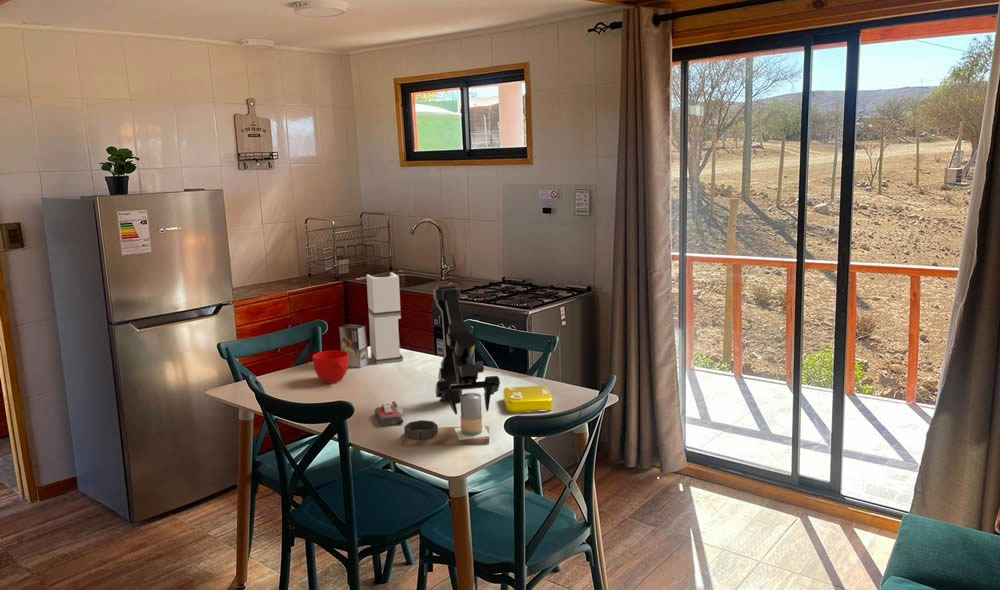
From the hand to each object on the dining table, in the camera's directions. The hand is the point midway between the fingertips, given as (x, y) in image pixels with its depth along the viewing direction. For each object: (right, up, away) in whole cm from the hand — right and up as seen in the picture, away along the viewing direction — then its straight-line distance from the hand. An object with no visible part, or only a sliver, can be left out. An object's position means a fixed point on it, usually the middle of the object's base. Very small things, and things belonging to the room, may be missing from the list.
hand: (472, 412), depth 214 cm
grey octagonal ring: (-15, -7, +2) cm, 17 cm away
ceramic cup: (-53, +2, +60) cm, 80 cm away
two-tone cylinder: (0, -6, +3) cm, 7 cm away
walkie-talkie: (-27, -5, +23) cm, 36 cm away
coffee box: (-50, +6, +81) cm, 96 cm away
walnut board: (-8, -8, +3) cm, 11 cm away
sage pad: (0, -6, +3) cm, 7 cm away
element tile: (+17, -3, +30) cm, 35 cm away
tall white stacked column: (-38, +7, +88) cm, 97 cm away
